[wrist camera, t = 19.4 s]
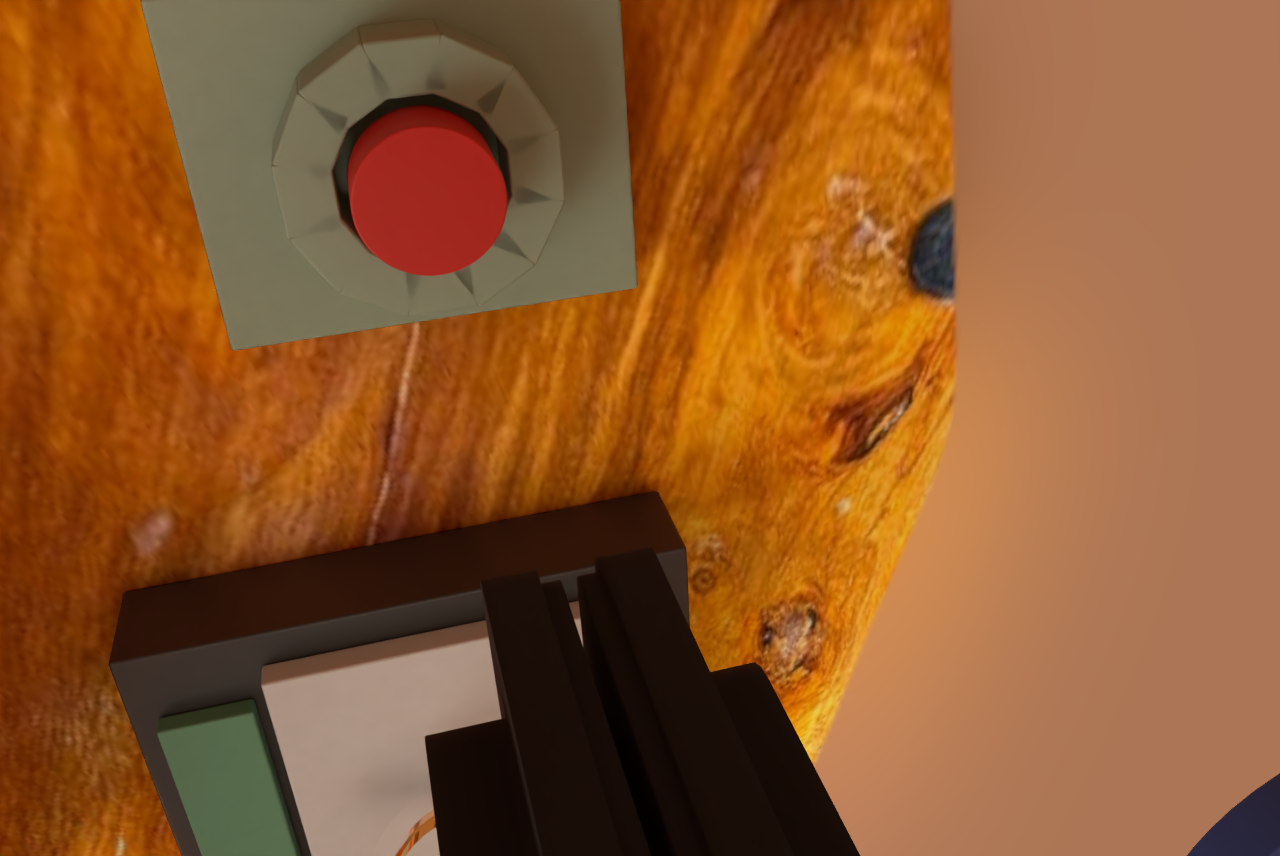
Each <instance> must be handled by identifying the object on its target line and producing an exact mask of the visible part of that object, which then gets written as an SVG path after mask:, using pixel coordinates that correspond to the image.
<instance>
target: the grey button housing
mask: <svg viewBox="0 0 1280 856" xmlns="http://www.w3.org/2000/svg"><path fill="white" fill-rule="evenodd" d="M141 6H142V10H143V14H144V17H145V21H146V25H147V29H148V33H149V36H150V40H151V44H152V48H153V52H154V56H155V59H156V63H157V67H158V71H159V75H160V78H161V82H162V86H163V90H164V94H165V97H166V101H167V105H168V109H169V113H170V117H171V120H172V124H173V128H174V132H175V136H176V139H177V143H178V147H179V151H180V155H181V158H182V162H183V166H184V170H185V174H186V177H187V181H188V185H189V189H190V193H191V197H192V200H193V204H194V208H195V212H196V216H197V219H198V223H199V227H200V231H201V235H202V238H203V242H204V246H205V250H206V254H207V258H208V261H209V265H210V269H211V273H212V277H213V280H214V284H215V288H216V292H217V296H218V299H219V303H220V307H221V311H222V315H223V318H224V322H225V326H226V330H227V334H228V338H229V341H230V345H231V348H232V350H241V349H247V348H254V347H260V346H266V345H273V344H279V343H286V342H292V341H299V340H305V339H311V338H318V337H324V336H331V335H337V334H344V333H350V332H356V331H363V330H369V329H376V328H382V327H389V326H395V325H401V324H408V323H414V322H421V321H427V320H434V319H440V318H446V317H453V316H459V315H466V314H472V313H478V312H485V311H491V310H498V309H504V308H511V307H517V306H523V305H530V304H536V303H543V302H549V301H556V300H562V299H568V298H575V297H581V296H588V295H594V294H601V293H607V292H613V291H620V290H626V289H633V288H637V285H638V282H637V266H636V249H635V233H634V217H633V200H632V184H631V168H630V151H629V135H628V118H627V102H626V86H625V69H624V53H623V37H622V20H621V4H620V0H141ZM412 105H428V106H435V107H440V108H443V109H446V110H449V111H452V112H454V113H455V114H457V115H459V116H461V117H462V118H464V119H465V120H467V121H468V122H469V123H470V124H472V125H473V126H474V127H475V128H476V129H477V130H478V132H479V133H480V134H481V135H482V137H483V138H484V140H485V141H486V143H487V144H488V146H489V148H490V150H491V152H492V154H493V156H494V158H495V160H496V162H497V164H498V166H499V168H500V170H501V172H502V175H503V178H504V181H505V185H506V190H507V212H506V217H505V221H504V224H503V227H502V230H501V232H500V234H499V236H498V237H497V239H496V241H495V242H494V243H493V245H492V246H491V247H490V249H489V250H488V251H487V252H486V253H485V254H484V255H483V256H482V257H480V258H479V259H478V260H477V261H475V262H474V263H472V264H471V265H469V266H467V267H465V268H463V269H461V270H458V271H455V272H452V273H448V274H444V275H436V276H421V275H415V274H410V273H406V272H403V271H400V270H398V269H395V268H393V267H391V266H390V265H388V264H386V263H384V262H383V261H382V260H380V259H379V258H378V257H376V256H375V255H374V254H373V253H372V252H371V251H370V250H369V249H368V247H367V246H366V245H365V243H364V242H363V241H362V239H361V237H360V236H359V234H358V232H357V230H356V227H355V225H354V222H353V218H352V214H351V207H350V199H349V191H348V182H347V169H348V162H349V158H350V155H351V152H352V149H353V147H354V145H355V143H356V141H357V140H358V138H359V137H360V135H361V134H362V132H363V131H364V130H365V129H366V128H367V127H368V126H369V125H370V124H371V123H372V122H373V121H375V120H376V119H377V118H379V117H381V116H382V115H384V114H386V113H388V112H390V111H392V110H395V109H398V108H401V107H406V106H412Z"/></svg>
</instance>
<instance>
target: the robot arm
mask: <svg viewBox="0 0 1280 856" xmlns="http://www.w3.org/2000/svg"><path fill="white" fill-rule="evenodd" d="M480 586H481V593H482V599H483V606H484V612H485V618H486V625H487V631H488V637H489V644H490V650H491V656H492V662H493V669H494V675H495V681H496V688H497V694H498V700H499V707H500V713H501V719H499V720H494V721H490V722H485V723H481V724H476V725H472V726H467V727H463V728H458V729H454V730H449V731H445V732H440V733H436V734H431V735H427V736H425V746H426V754H427V762H428V770H429V777H430V785H431V792H432V800H433V808H434V815H435V823H436V830H437V838H438V846H439V853H440V856H860V854H859V853H858V851H857V849H856V847H855V845H854V843H853V841H852V839H851V837H850V835H849V833H848V831H847V830H846V827H845V826H844V824H843V822H842V820H841V818H840V816H839V814H838V812H837V810H836V808H835V806H834V805H833V802H832V801H831V799H830V797H829V795H828V793H827V791H826V789H825V787H824V785H823V783H822V781H821V779H820V778H819V776H818V774H817V772H816V770H815V768H814V766H813V764H812V762H811V760H810V758H809V756H808V754H807V752H806V750H805V748H804V747H803V745H802V743H801V741H800V739H799V737H798V735H797V733H796V731H795V729H794V727H793V725H792V723H791V721H790V720H789V718H788V716H787V714H786V712H785V710H784V708H783V706H782V704H781V702H780V700H779V698H778V696H777V694H776V693H775V691H774V689H773V687H772V685H771V683H770V681H769V679H768V677H767V676H766V674H765V673H764V671H763V670H762V668H761V667H760V666H759V665H758V664H756V663H755V662H754V663H749V664H745V665H740V666H736V667H731V668H727V669H722V670H718V671H714V672H710V671H709V669H708V667H707V665H706V662H705V660H704V658H703V656H702V654H701V651H700V649H699V647H698V645H697V643H696V641H695V638H694V636H693V634H692V632H691V630H690V627H689V625H688V623H687V621H686V619H685V617H684V614H683V612H682V610H681V608H680V606H679V603H678V601H677V599H676V597H675V595H674V593H673V590H672V588H671V586H670V584H669V582H668V579H667V577H666V575H665V573H664V571H663V569H662V566H661V564H660V562H659V560H658V558H657V555H656V553H655V552H654V550H653V548H651V547H645V548H640V549H635V550H630V551H625V552H620V553H615V554H610V555H605V556H600V557H596V559H595V573H591V574H586V575H581V576H578V577H577V591H578V600H579V610H580V619H581V629H582V638H583V645H582V642H581V639H580V636H579V633H578V630H577V627H576V624H575V620H574V617H573V614H572V611H571V608H570V605H569V602H568V599H567V596H566V593H565V590H564V587H563V584H562V582H561V580H556V581H551V582H547V583H542V584H541V582H540V579H539V576H538V573H537V571H536V569H535V570H529V571H524V572H519V573H514V574H509V575H504V576H499V577H494V578H489V579H484V580H480Z"/></svg>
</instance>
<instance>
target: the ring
mask: <svg viewBox="0 0 1280 856" xmlns="http://www.w3.org/2000/svg"><path fill="white" fill-rule="evenodd" d="M434 828H436V823H435V815H434V808H433V800H432V792H431V791H429V792H427V793H425V794H423V795H422V796H420V797H419V798H417V799H416V800H414V801H413V802H411V803H410V804H409V805H407V806H406V807H405V808H404V809H403V810H402V811H401V812H400V813H399V814H398V815H397V816H396V817H395V818H394V819H393V820H392V821H391V823H390V824H389V825H388V827H387V828H386V829H385V831H384V832H383V834H382V836H381V837H380V839H379V841H378V843H377V845H376V847H375V849H374V852H373V854H372V856H406V855H407V854H408V852H409V851H410V850H411V848H412V847H413V846H414V845H415V844H416V843H417V842H418V841H419V840H420V839H421V838H422V837H423V836H424V835H426V834H427V833H428V832H430V831H431V830H433V829H434Z"/></svg>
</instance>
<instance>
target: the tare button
mask: <svg viewBox="0 0 1280 856" xmlns="http://www.w3.org/2000/svg"><path fill="white" fill-rule="evenodd" d="M347 182H348V191H349V199H350V207H351V214H352V218H353V222H354V225H355V227H356V230H357V232H358V234H359V236H360V237H361V239H362V241H363V242H364V243H365V245H366V246H367V247H368V249H369V250H370V251H371V252H372V253H373V254H374V255H375V256H376V257H378V258H379V259H380V260H382V261H383V262H384V263H386V264H388V265H390V266H391V267H393V268H395V269H398V270H400V271H403V272H406V273H410V274H415V275H421V276H436V275H444V274H448V273H452V272H455V271H458V270H461V269H463V268H465V267H467V266H469V265H471V264H472V263H474V262H475V261H477V260H478V259H479V258H480V257H482V256H483V255H484V254H485V253H486V252H487V251H488V250H489V249H490V247H491V246H492V245H493V243H494V242H495V241H496V239H497V237H498V236H499V234H500V232H501V230H502V227H503V224H504V221H505V217H506V212H507V190H506V185H505V181H504V178H503V175H502V172H501V170H500V168H499V166H498V164H497V162H496V160H495V158H494V156H493V154H492V152H491V150H490V148H489V146H488V144H487V143H486V141H485V140H484V138H483V137H482V135H481V134H480V133H479V132H478V130H477V129H476V128H475V127H474V126H473V125H472V124H470V123H469V122H468V121H467V120H465V119H464V118H462V117H461V116H459V115H457V114H455V113H454V112H452V111H449V110H446V109H443V108H440V107H435V106H428V105H412V106H406V107H401V108H398V109H395V110H392V111H390V112H388V113H386V114H384V115H382V116H381V117H379V118H377V119H376V120H375V121H373V122H372V123H371V124H370V125H369V126H368V127H367V128H366V129H365V130H364V131H363V132H362V134H361V135H360V137H359V138H358V140H357V141H356V143H355V145H354V147H353V149H352V152H351V155H350V158H349V162H348V169H347Z"/></svg>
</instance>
